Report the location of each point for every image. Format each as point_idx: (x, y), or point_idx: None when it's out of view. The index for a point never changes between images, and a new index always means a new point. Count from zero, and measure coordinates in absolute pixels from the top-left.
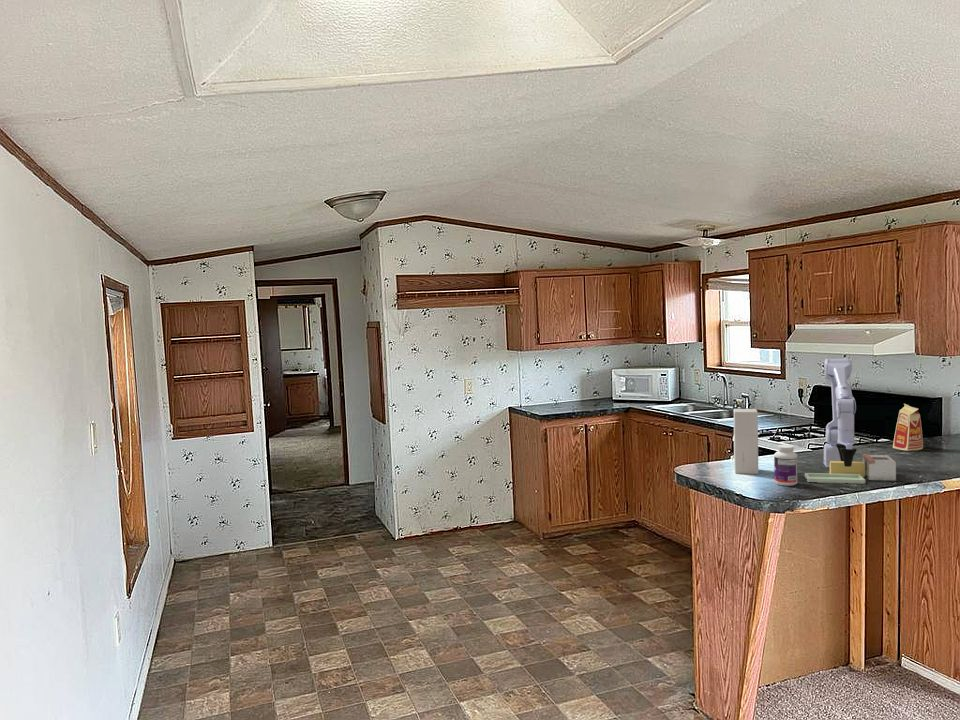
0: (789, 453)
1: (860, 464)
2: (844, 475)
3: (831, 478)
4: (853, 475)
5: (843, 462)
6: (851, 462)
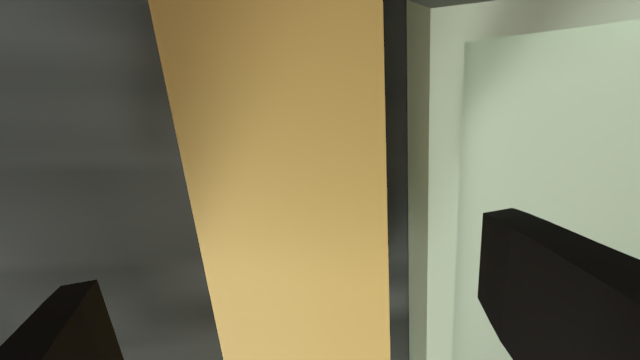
0: None
1: (374, 16)
2: (449, 219)
3: None
4: (456, 108)
5: (352, 354)
6: (580, 243)
